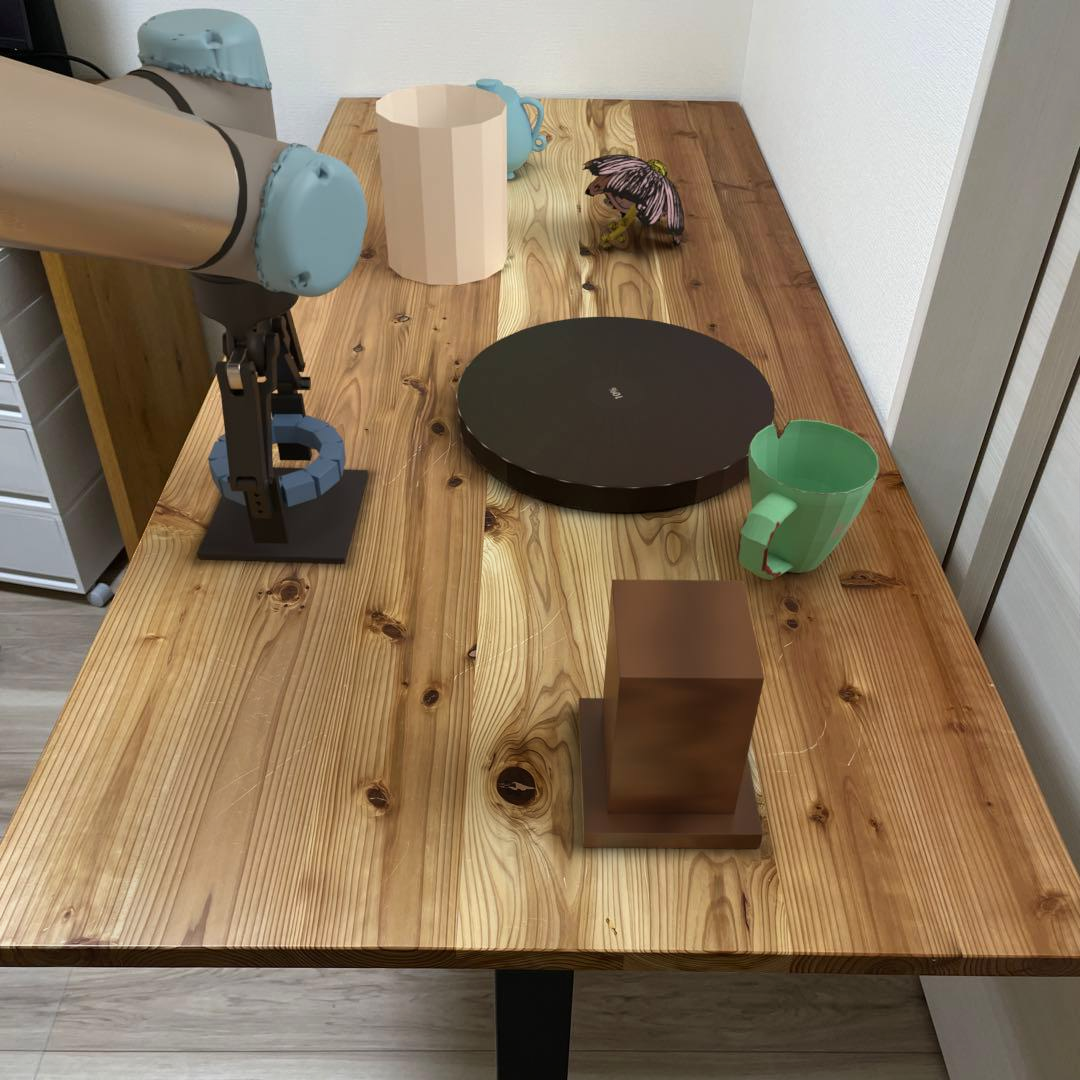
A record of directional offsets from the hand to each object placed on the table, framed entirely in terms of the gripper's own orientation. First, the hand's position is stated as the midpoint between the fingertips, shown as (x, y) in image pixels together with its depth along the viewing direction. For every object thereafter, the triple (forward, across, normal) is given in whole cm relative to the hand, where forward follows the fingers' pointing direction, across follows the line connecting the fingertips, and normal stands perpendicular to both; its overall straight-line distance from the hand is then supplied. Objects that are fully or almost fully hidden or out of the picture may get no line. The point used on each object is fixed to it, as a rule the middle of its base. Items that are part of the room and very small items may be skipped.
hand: (284, 497), depth 90 cm
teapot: (+2, +79, -14) cm, 81 cm away
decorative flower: (+2, +55, -33) cm, 64 cm away
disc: (+2, +15, -29) cm, 33 cm away
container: (+2, +50, -10) cm, 51 cm away
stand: (+2, -27, -30) cm, 40 cm away
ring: (-3, 0, 0) cm, 3 cm away
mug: (+2, -6, -41) cm, 42 cm away
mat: (+2, 0, 0) cm, 2 cm away
